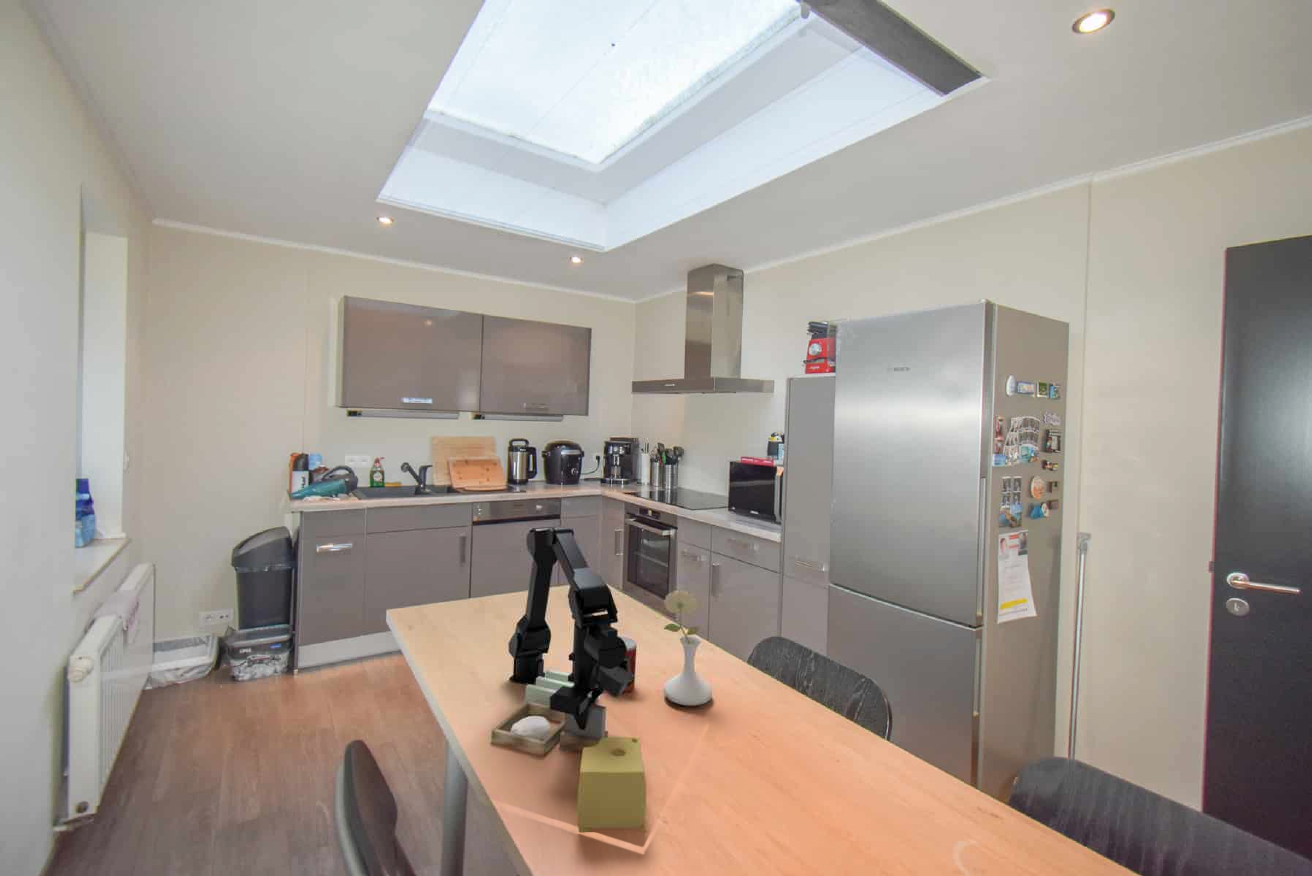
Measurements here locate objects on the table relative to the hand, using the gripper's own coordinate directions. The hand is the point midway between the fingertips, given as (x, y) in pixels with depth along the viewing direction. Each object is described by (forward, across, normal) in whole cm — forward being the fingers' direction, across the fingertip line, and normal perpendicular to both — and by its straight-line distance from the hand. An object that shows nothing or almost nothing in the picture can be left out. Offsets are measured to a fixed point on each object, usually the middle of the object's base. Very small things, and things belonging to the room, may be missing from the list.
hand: (584, 726), depth 111 cm
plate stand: (+4, 0, 0) cm, 4 cm away
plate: (+4, 0, 0) cm, 4 cm away
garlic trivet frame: (+4, 0, +11) cm, 12 cm away
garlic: (+5, -1, +11) cm, 12 cm away
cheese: (+5, -14, -12) cm, 19 cm away
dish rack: (+4, +13, +12) cm, 18 cm away
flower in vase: (+5, +28, -12) cm, 31 cm away
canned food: (+5, +26, +4) cm, 27 cm away
